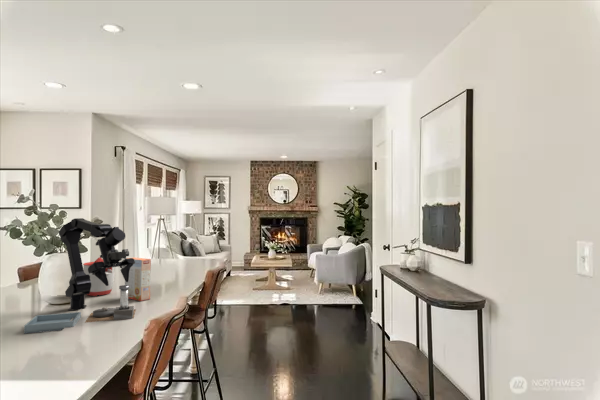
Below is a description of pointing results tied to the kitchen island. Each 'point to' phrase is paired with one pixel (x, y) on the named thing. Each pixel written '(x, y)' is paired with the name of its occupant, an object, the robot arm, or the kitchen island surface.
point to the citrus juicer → (96, 283)
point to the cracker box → (139, 279)
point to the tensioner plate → (111, 314)
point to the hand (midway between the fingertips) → (117, 283)
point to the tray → (51, 322)
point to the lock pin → (124, 296)
